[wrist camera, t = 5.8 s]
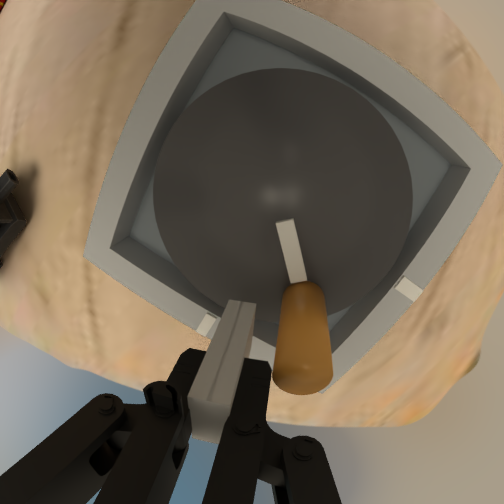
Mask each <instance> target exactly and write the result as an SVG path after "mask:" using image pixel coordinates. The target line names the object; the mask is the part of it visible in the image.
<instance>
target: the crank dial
mask: <svg viewBox="0 0 504 504" xmlns="http://www.w3.org/2000/svg"><path fill="white" fill-rule="evenodd" d="M153 206H154V212H155V219H156V223H157V226H158V230H159V233H160V236H161V239H162V241H163V243H164V246H165V248H166V250H167V252H168V254H169V255H170V257H171V259H172V261H173V262H174V264H175V265H176V267H177V268H178V269H179V271H180V272H181V273H182V274H183V276H184V277H185V278H186V279H187V280H188V281H189V282H190V283H191V284H192V285H193V286H194V287H195V288H196V289H197V290H198V291H200V292H201V293H202V294H203V295H204V296H206V297H207V298H209V299H210V300H212V301H213V302H215V303H216V304H218V305H219V306H221V307H223V308H226V306H227V303H228V301H229V300H236V301H242V302H249V303H256V311H255V319H256V320H260V321H267V322H275V323H279V329H278V336H277V344H276V351H275V358H274V366H273V372H272V377H273V381H274V383H275V384H276V385H277V386H278V387H279V388H280V389H282V390H283V391H285V392H288V393H291V394H295V395H308V394H313V393H316V392H319V391H321V390H323V389H324V388H325V387H327V386H328V385H329V383H330V382H331V380H332V378H333V364H332V354H331V345H330V336H329V328H328V320H327V316H329V315H332V314H334V313H337V312H339V311H341V310H343V309H345V308H347V307H349V306H351V305H353V304H354V303H356V302H357V301H359V300H360V299H362V298H363V297H364V296H366V295H367V294H368V293H369V292H370V291H371V290H373V289H374V288H375V287H376V286H377V285H378V284H379V283H380V282H381V280H382V279H383V278H384V277H385V276H386V275H387V273H388V272H389V271H390V269H391V268H392V266H393V265H394V263H395V262H396V260H397V258H398V256H399V254H400V252H401V250H402V248H403V246H404V243H405V240H406V237H407V234H408V231H409V227H410V222H411V217H412V208H413V189H412V178H411V174H410V169H409V165H408V161H407V158H406V156H405V153H404V150H403V148H402V145H401V143H400V141H399V139H398V138H397V136H396V134H395V132H394V130H393V129H392V127H391V126H390V125H389V123H388V122H387V121H386V119H385V118H384V117H383V115H382V114H381V113H380V112H379V111H378V110H377V109H376V108H375V107H374V106H373V105H372V104H371V103H370V102H369V101H368V100H367V99H365V98H364V97H363V96H361V95H360V94H359V93H357V92H356V91H355V90H353V89H352V88H350V87H348V86H346V85H344V84H343V83H341V82H339V81H337V80H335V79H332V78H330V77H327V76H324V75H321V74H319V73H315V72H310V71H305V70H301V69H290V68H271V69H260V70H256V71H251V72H247V73H243V74H240V75H237V76H235V77H232V78H229V79H227V80H225V81H223V82H221V83H219V84H217V85H215V86H214V87H212V88H210V89H209V90H207V91H206V92H205V93H203V94H202V95H201V96H199V97H198V98H197V99H196V100H194V101H193V102H192V103H191V104H190V105H189V106H188V107H187V108H186V109H185V110H184V111H183V113H182V114H181V115H180V117H179V118H178V119H177V121H176V122H175V123H174V125H173V126H172V128H171V130H170V131H169V133H168V135H167V137H166V139H165V141H164V143H163V146H162V148H161V151H160V153H159V156H158V160H157V164H156V168H155V173H154V182H153Z"/></svg>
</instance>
